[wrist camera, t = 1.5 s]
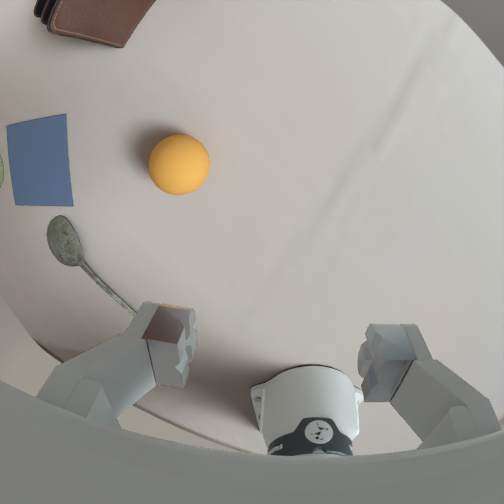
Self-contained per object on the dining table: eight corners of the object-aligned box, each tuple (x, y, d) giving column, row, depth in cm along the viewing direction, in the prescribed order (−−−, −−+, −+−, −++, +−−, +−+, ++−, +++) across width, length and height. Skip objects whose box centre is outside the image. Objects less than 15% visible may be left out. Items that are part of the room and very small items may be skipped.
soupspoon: (64, 202, 37) (47, 229, 39) (49, 210, 34) (33, 238, 36) (169, 317, 42) (144, 334, 45) (160, 332, 39) (135, 348, 42)
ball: (214, 187, 33) (201, 204, 28) (162, 184, 33) (140, 201, 28) (215, 131, 30) (201, 138, 25) (161, 131, 31) (137, 138, 25)
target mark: (73, 206, 36) (72, 206, 35) (16, 204, 36) (15, 205, 36) (66, 114, 30) (65, 114, 30) (7, 125, 31) (6, 126, 31)
